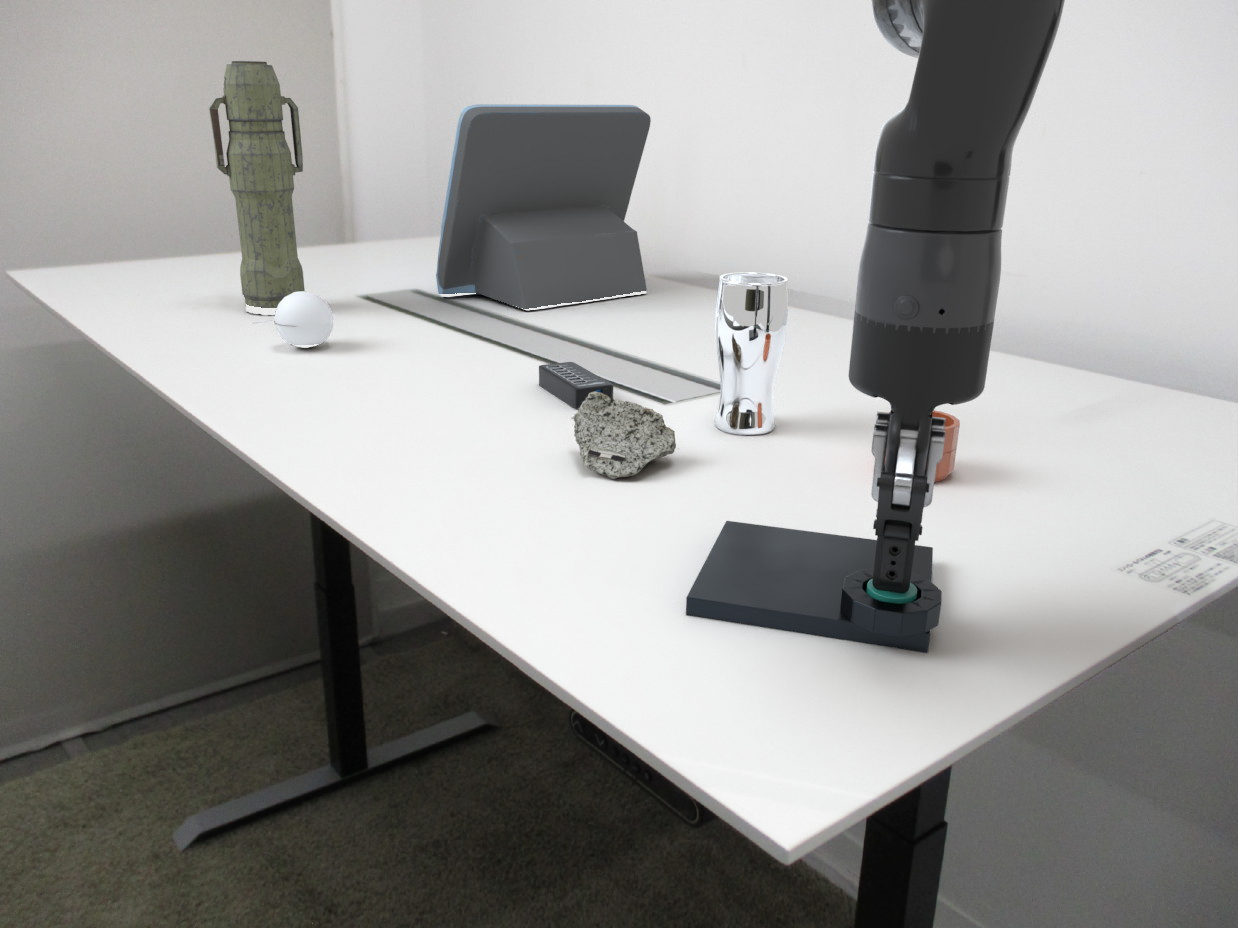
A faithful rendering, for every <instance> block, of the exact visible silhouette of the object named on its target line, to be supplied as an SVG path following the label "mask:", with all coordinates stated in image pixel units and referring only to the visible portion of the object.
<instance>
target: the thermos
mask: <svg viewBox="0 0 1238 928" xmlns="http://www.w3.org/2000/svg"><path fill="white" fill-rule="evenodd" d="M223 79H224V81H223V89H222V90H223V95H222V97H216V98H214V100H213V102H212V103H211V105H210V106H209V107H208V112H209V117H210V123H211V124H210V125H211V130H212V138H213V145H214V153H215V162H216V163H215V164H216V168H217V170H219V171H220V172H221V173H222V174H224V175H225V176H227V177H228V179H229V187H230V191H231V193H232V194H233V196H234V202H235V207H236V208H235V209H236V217H237V225H238V234H239V243H240V252H241V263H240V267H239V269H240V270H239V276H240V285H241V294H242V295H243V297H244V304H245V303H246V304H247V305H249V306H254V307H261V308H277V306H278V304H279V303H280V302H281V301H282V299H283V298H284V297H286V296H288V295H290V294H291V293H293V292H299V291H306V290H305V279H304V270H303V265H302V264H301V262H300V259H299V256H298V246H297V235H296V225H295V215H294V214H295V213H294V206H293V205H294V204H293V194H294V191H295V181H294V176H296V173H302V172H303V171H304V159H303V157H304V156H303V147H302V136H301V125H300V115H299V114H300V113H299V107H298V106H297V104H296V103H295V102H294V100H293V99H292V98H291V97H285V96H284V95H282V93H281V85H280V82H279V79H278V76H277V74H276V71H275V70H274V67H273V65H272V64H268V62H267V61H256V60H255V61H252V60H231V63H229V64H228V63H227V64H226V65H225V71H224V76H223ZM221 104H223V105H224V106H225V114H226V120H227V121H228V127H229V130H228V132H227V133H228V143H227V149H226V154H225V155H226V161H227V165H226V164H225V156H224V149H223V141H222V133H221V125H220V124H221V123H220V115H219V108H220V105H221ZM286 104H287V105H288V107H289V112H290V121H291V133H292V141H293V154H294V163H295V164H294V163H293V161H292V160H293V159H292V151H291V149H290V147H289V145H288V142H287V140H286V134H285V133H286V132H285V130H283V129H284V128H283V121H284V113H283V112H284V111H283V106H284V105H286Z"/></svg>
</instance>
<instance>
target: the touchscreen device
mask: <svg viewBox="0 0 1238 928" xmlns="http://www.w3.org/2000/svg"><path fill="white" fill-rule="evenodd" d="M651 122H652V121H651V116H650V114H649V113H647V112H646V111H644V110H643V109H641V108H640V107H639V106H637V105H634V104H633V105H632V104H520V103H519V104H517V103H516V104H511V103H509V104H507V103H506V104H502V103H501V104H498V103H497V104H496V103H495V104H494V103H493V104H492V103H491V104H490V103H489V104H482V103H481V104H480V103H479V104H471V105H468V106H466V107H465V108H463V109H462V111H461V112H460V114H459V117H458V121H457V126H456V131H455V132H456V133H455V139H454V144H453V151H452V157H451V163H450V170H449V176H448V183H447V188H446V195H445V201H444V207H443V213H442V220H441V226H440V238H439V245H438V252H437V261H436V262H437V264H436V274H435V279H436V289H437V292H438V293H437V294H438V295H439V294H455V293H456V294H457V293H476V294H477V295H481V296H484V297H487V298H489V297H490V299H492V300H495V301H497V300H499V301H498V302H500V301H501V302H500V303H503V302H504V303H503V304H505V303H508V304H510V305H509V306H511V305H514V306H517V307H519V308H523V309H529V308H537V307H541V306H548V305H557V304H561V303H572V302H582V301H586V300H593V299H600V298H604V297H612V296H616V295H623V294H630V293H633V292H641V291H646V290H647V291H648V289H647V283H646V277H645V271H644V266H643V265H644V264H643V259H642V254H641V248H640V242H639V236H638V231H637V230H635V229H634V228H632V227H631V226H630V225H629V224H628V223H626V222H625V219H626V216H627V211H628V208H629V204H630V201H631V197H632V193H633V188H634V185H635V182H636V178H637V175H638V171H639V168H640V164H641V161H642V157H643V153H644V150H645V146H646V143H647V139H648V135H649V131H650V127H651ZM508 304H507V305H508ZM519 308H518V309H519Z"/></svg>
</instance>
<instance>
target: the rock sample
mask: <svg viewBox="0 0 1238 928" xmlns="http://www.w3.org/2000/svg"><path fill="white" fill-rule="evenodd" d="M612 394H613V395H614V392H613V393H612ZM611 397H612V396H611ZM585 399H586V400H585V401H583V402H582V405H581V407H579V408H578V409H576V411H577V412H576V413H574V414H573V416H572V417H571V416H570V419H571V420H572V421H573V422H574V427H573V428H574V429H573V431H574V434H573V436H574V437H575V442H576V444H578V447H579V452H580V453H579V455H580V458H581V460H582V463H583V466H584V467H585V468H587V469H589V470H592V471H594V472H596V473H597V474H599V475H602V476H606V477H607V478H609V479H612V480H617V479H618V478H625V477H632V476H637V475H638V474H639V473H640V472H641V471H642V470H643V468H644V467H645V466H646V465H648V463H651V462H653V461H655V460H658V459H661V458H663V457H666V456H668V455H672V454H674V452H675V450H676V449H677V450H679V448H677V444H676V434H675V430H673V429H672V428H671V427H668V426H667V425H666V424H665V420H664V416H663V415H662V414H661V413H659V412H656V411H654V410H653V408H649V407H646V406H643V405H641V404H638V403H637V402H630V401H627V400H626V401H622V400H620V399H616V400H615V399H614V398H613V399H611V398H609V396H608V395H605V394H602V393H600V392H597V391H596V392H591V393H589V394H588V397H586V398H585Z"/></svg>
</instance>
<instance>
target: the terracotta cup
mask: <svg viewBox="0 0 1238 928" xmlns="http://www.w3.org/2000/svg"><path fill="white" fill-rule="evenodd" d="M889 413H890V411H889ZM932 417H940V418H946V420H945V429H944V431H945V442H944V449H943V457H942V460H941V461H940V462H939V463H938V464H937V466H936V474H935V481H934V483H936V482H940V481H944V480H945V479H947V478H948V476H949V475H950V474H951V473H953V472H954V470H955V463H956V455H957V447H958V440H959V435H960V434H959V433H960V426H961V421H960V419H958V418H957V417H956V416H954V415H953V414H950V413H946V412H943V411H940V410H936V409H934V411H933V416H932ZM886 450H887V449H886ZM885 461H886V457H885ZM926 461H927V460H926ZM925 469H926V467H925Z"/></svg>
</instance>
